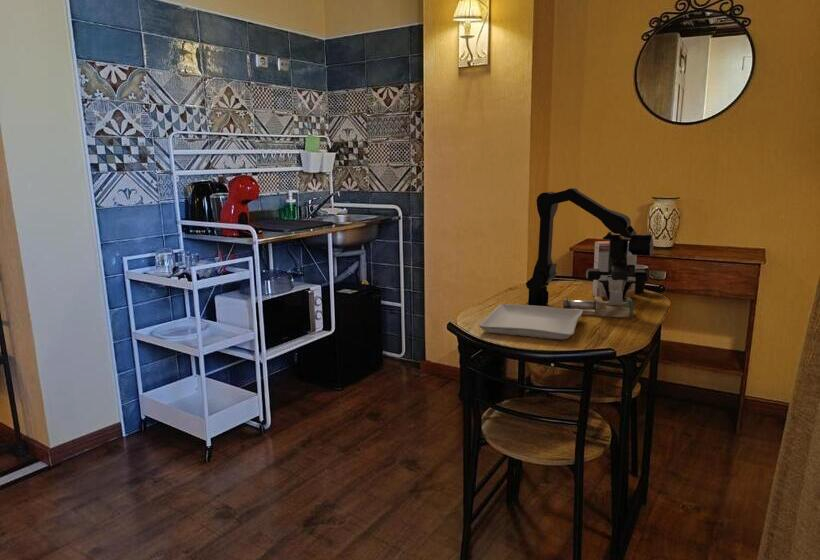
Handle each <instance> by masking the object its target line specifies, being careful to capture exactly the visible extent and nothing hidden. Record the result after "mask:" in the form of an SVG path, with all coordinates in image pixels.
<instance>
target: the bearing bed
mask: <svg viewBox="0 0 820 560" xmlns="http://www.w3.org/2000/svg"><path fill="white" fill-rule="evenodd" d="M593 297H594V298H593V301H596V310H582V309H574V310H582V311H583V313H582V315H585V316H586V315H587V316H596V317H609V318H633V314H634V302H633V300H632V298H630V297H626V298H625V302H623V301H622V305H609V303H608V301H603V298H601V297H595V296H593ZM582 315H581V316H582Z"/></svg>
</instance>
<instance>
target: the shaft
mask: <svg viewBox="0 0 820 560" xmlns="http://www.w3.org/2000/svg"><path fill="white" fill-rule="evenodd" d="M562 302H563V303H562V308H565V309H582V310H596V301H594V300H579V299H578V300H574V299H568V298H563V301H562Z"/></svg>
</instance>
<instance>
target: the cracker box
mask: <svg viewBox="0 0 820 560" xmlns="http://www.w3.org/2000/svg"><path fill="white" fill-rule="evenodd" d="M593 255H594V257H593V260H594V261H593V269H599V270H600V271H602V272H608V256H609V240H603V241H599V240H598V241H597V240H596V241H594V254H593ZM637 256H638V255H632V253H630V251H629V241H628V251H627V265H635V270H636V265H637V262H638V261H637V259H638V257H637ZM607 279H608V281H609V290H621V291H622V285H623V280H613V279H612V277H608V278H607ZM592 283H593V284H592V296H593V297H601V298H602V299H607V297H606V293H605V290H604V287H603V284H602V282H599V281H598V280H592ZM635 295H636V294H635V283H632V284H631V285H630V287H629V288H628V290H627V292H626V294H625V297H624V299H626V297H630V299H634V298H635Z"/></svg>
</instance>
